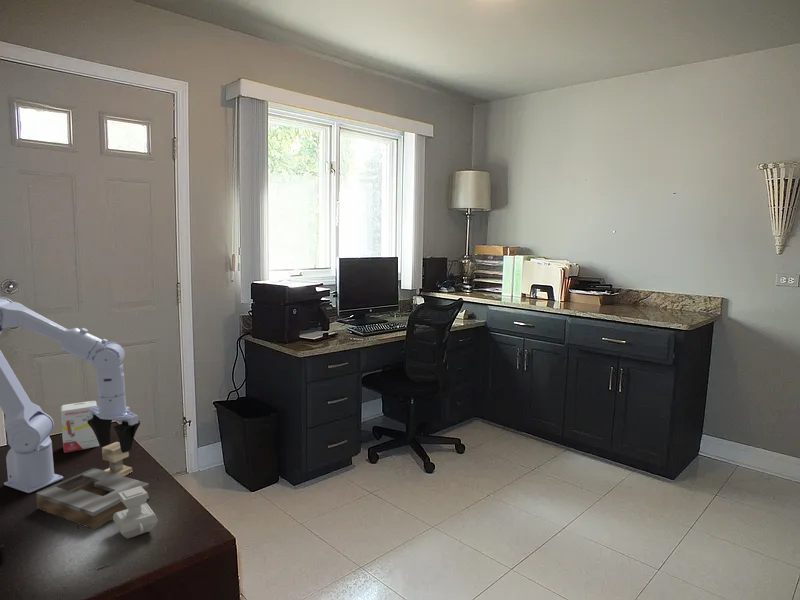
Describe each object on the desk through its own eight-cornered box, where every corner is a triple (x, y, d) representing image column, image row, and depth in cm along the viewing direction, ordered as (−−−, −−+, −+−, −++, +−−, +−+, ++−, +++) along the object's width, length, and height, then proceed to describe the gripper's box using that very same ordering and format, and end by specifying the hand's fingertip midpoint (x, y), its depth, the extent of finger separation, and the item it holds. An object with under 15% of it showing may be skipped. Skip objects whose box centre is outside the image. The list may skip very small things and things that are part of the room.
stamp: (161, 535, 101) (158, 494, 100) (123, 548, 97) (121, 506, 95) (147, 516, 108) (144, 478, 106) (111, 527, 103) (109, 488, 102)
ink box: (63, 453, 137) (59, 410, 135) (63, 446, 141) (59, 405, 139) (100, 446, 142) (97, 404, 140) (99, 440, 146) (96, 399, 144)
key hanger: (101, 476, 125) (99, 448, 124) (118, 468, 129) (117, 440, 128) (114, 480, 123) (112, 451, 122) (132, 472, 127) (130, 444, 126)
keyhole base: (37, 508, 110) (36, 492, 109) (94, 482, 122) (93, 467, 121) (94, 529, 103) (93, 512, 102) (149, 498, 114) (148, 483, 114)
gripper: (147, 393, 124) (151, 447, 126) (106, 385, 130) (110, 437, 131) (121, 402, 117) (125, 458, 119) (79, 393, 123) (83, 447, 125)
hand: (115, 448), depth 125 cm, fingers open, 7 cm apart
